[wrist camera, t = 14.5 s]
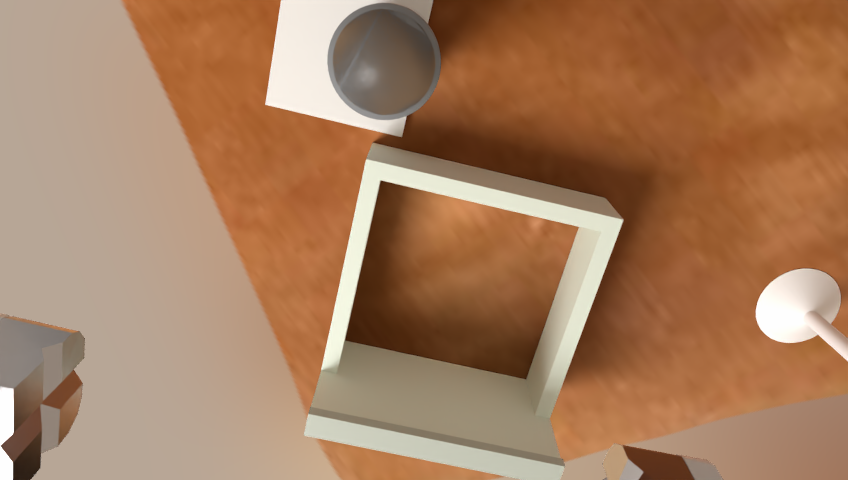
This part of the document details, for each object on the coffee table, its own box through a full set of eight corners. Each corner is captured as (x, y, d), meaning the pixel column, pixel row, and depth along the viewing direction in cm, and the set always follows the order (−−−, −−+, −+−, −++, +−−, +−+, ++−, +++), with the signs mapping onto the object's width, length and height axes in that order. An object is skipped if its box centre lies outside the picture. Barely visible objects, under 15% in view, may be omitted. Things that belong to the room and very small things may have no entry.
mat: (289, -44, 44) (287, -44, 43) (434, -7, 44) (434, -6, 44) (267, 103, 47) (265, 104, 47) (402, 135, 48) (401, 137, 47)
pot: (358, -12, 44) (341, -12, 35) (450, 15, 44) (454, 21, 36) (337, 82, 46) (316, 103, 38) (425, 106, 47) (423, 132, 38)
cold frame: (372, 142, 48) (356, 183, 38) (605, 197, 49) (649, 251, 39) (327, 352, 55) (303, 435, 44) (534, 396, 56) (557, 486, 46)
